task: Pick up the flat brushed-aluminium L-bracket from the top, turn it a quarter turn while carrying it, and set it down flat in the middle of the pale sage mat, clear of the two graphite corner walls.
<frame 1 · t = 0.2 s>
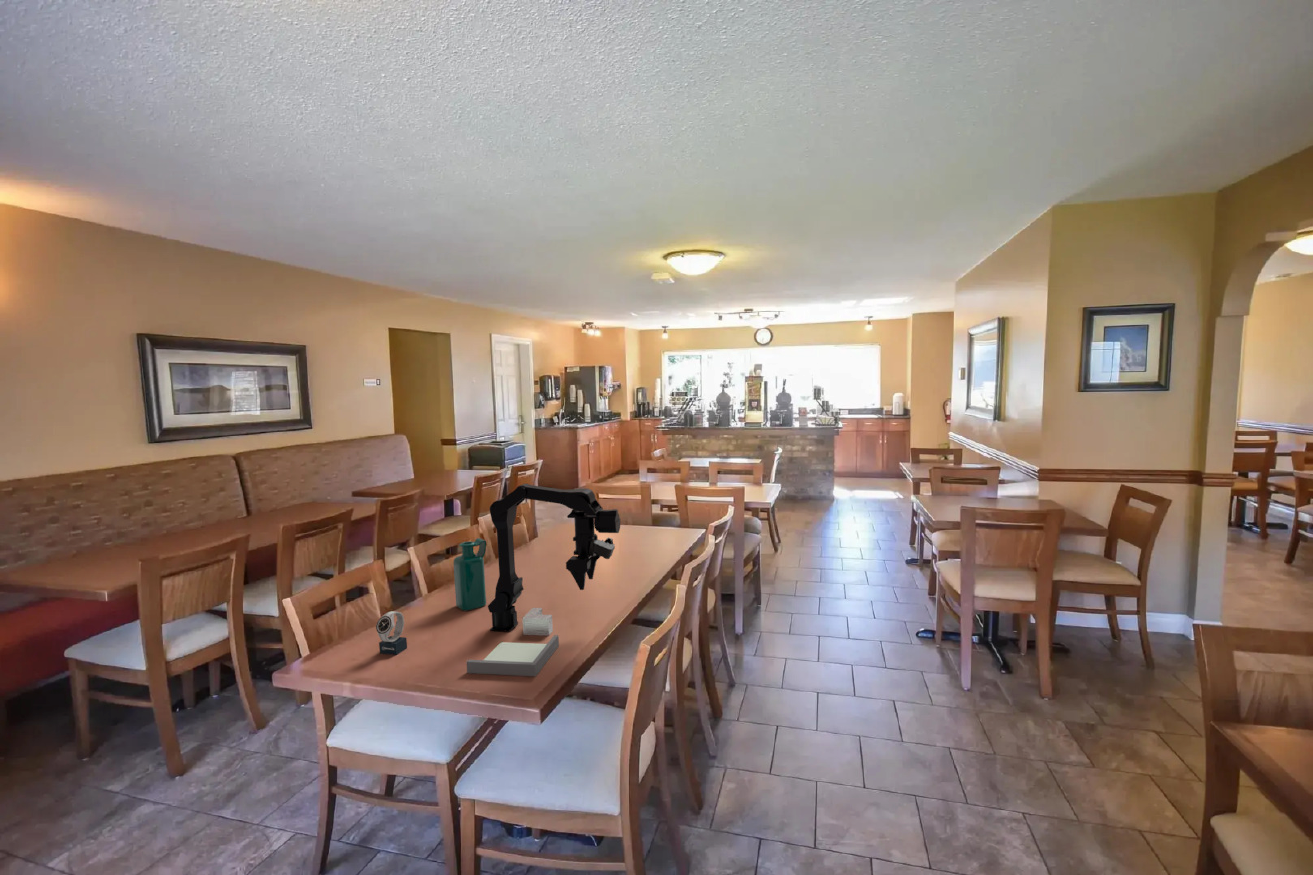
hand: (586, 584, 167), 14 cm above the table, tool pointing down, fingers open, 9 cm apart
watch: (393, 651, 159), on the table
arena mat: (516, 657, 152), on the table
bracket: (538, 632, 168), on the table
corner walls: (516, 657, 152), resting in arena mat
green bottle: (473, 605, 192), on the table
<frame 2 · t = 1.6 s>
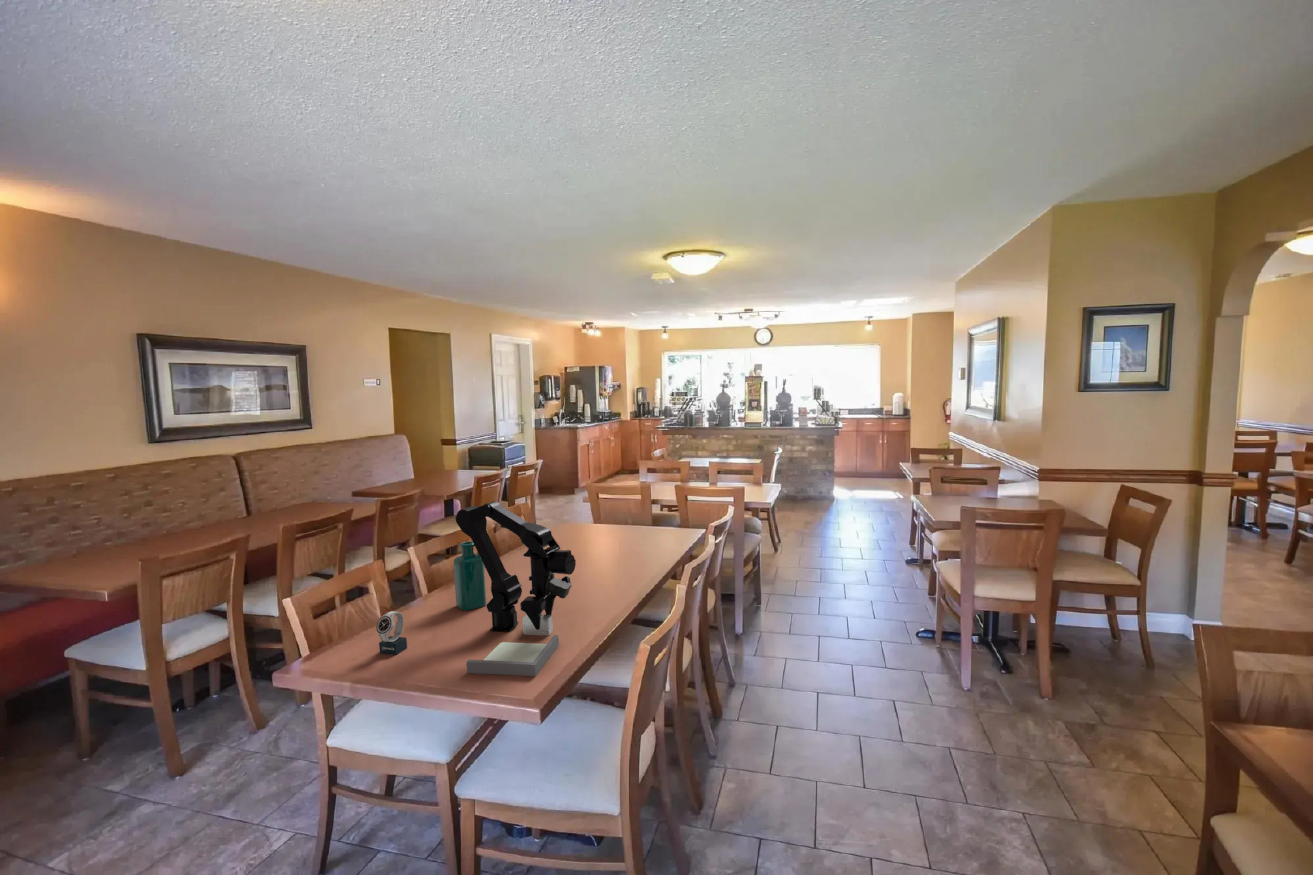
hand: (543, 622, 167), 3 cm above the table, tool pointing down, fingers open, 9 cm apart
nothing on the table moved.
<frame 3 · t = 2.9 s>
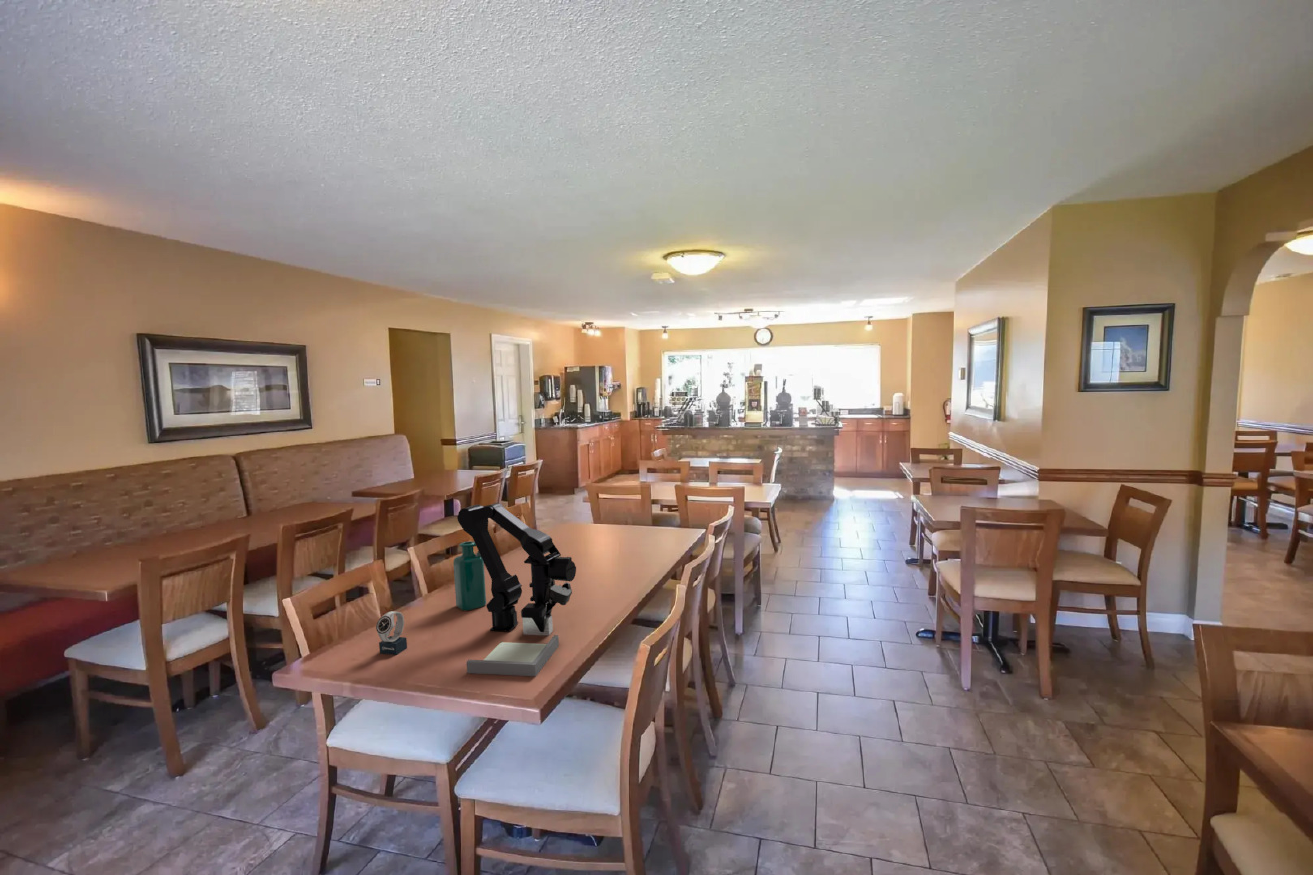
hand: (544, 629, 167), 1 cm above the table, tool pointing down, fingers closed on bracket, 3 cm apart
bracket: (538, 632, 168), on the table, touching gripper
everything else where it was.
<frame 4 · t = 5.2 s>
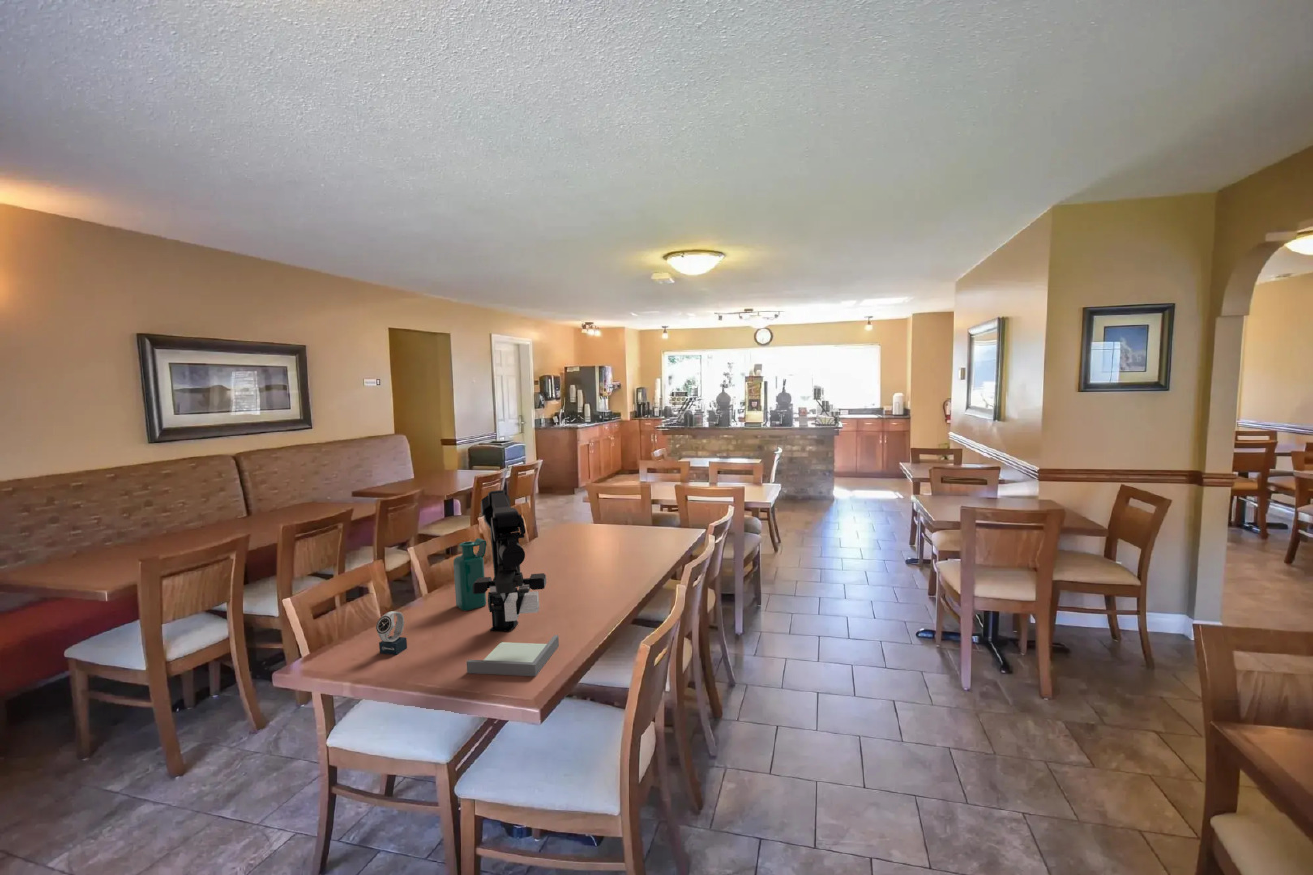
hand: (512, 614, 153), 11 cm above the table, tool pointing down, fingers closed on bracket, 3 cm apart
bracket: (513, 615, 155), point 10 cm above the table, touching gripper
everything else where it was.
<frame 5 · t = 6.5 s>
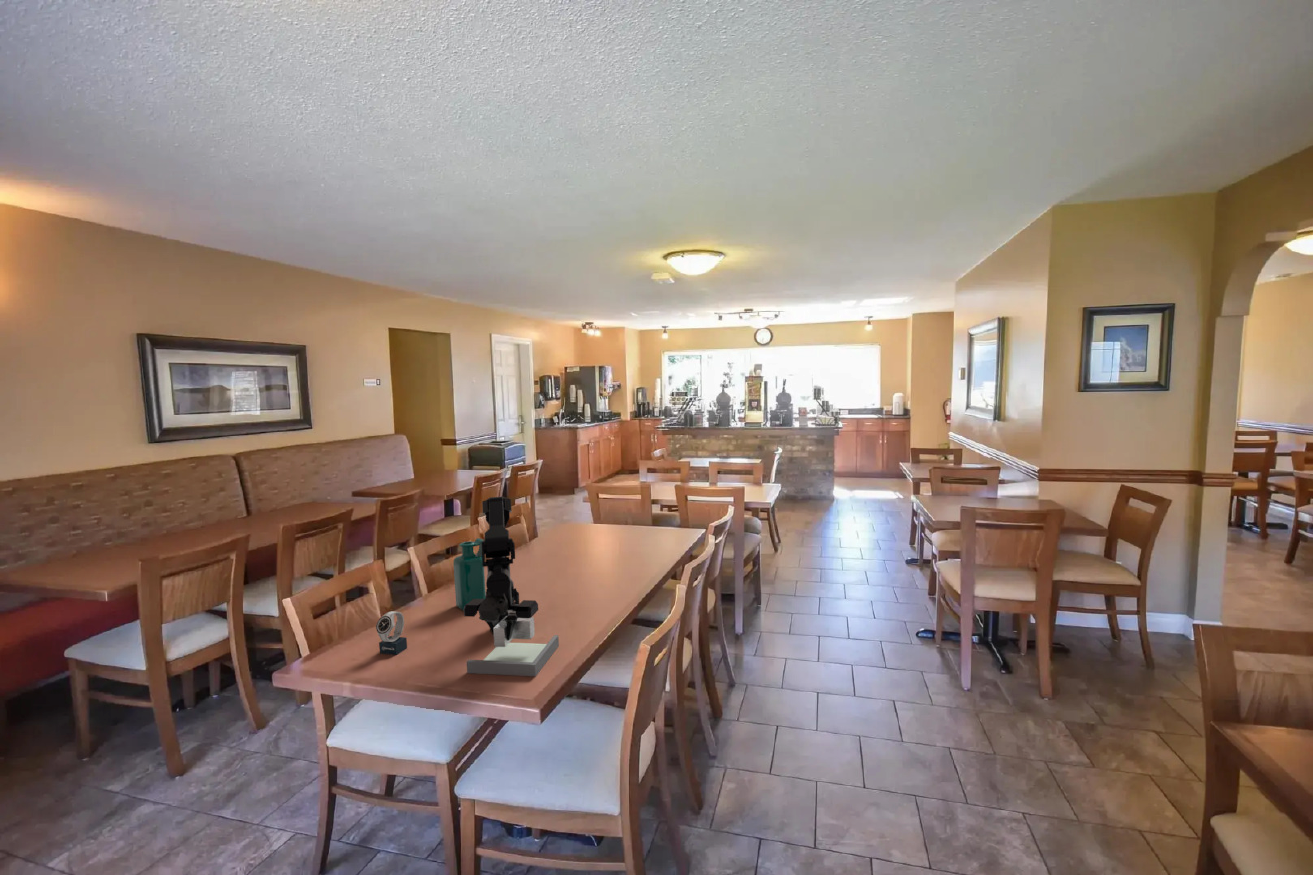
hand: (502, 639, 150), 6 cm above the table, tool pointing down, fingers closed on bracket, 3 cm apart
bracket: (506, 640, 152), point 5 cm above the table, touching gripper
everything else where it was.
when the fingers open (3 cm above the table, at t = 7.7 s): bracket drops 2 cm, resting on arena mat.
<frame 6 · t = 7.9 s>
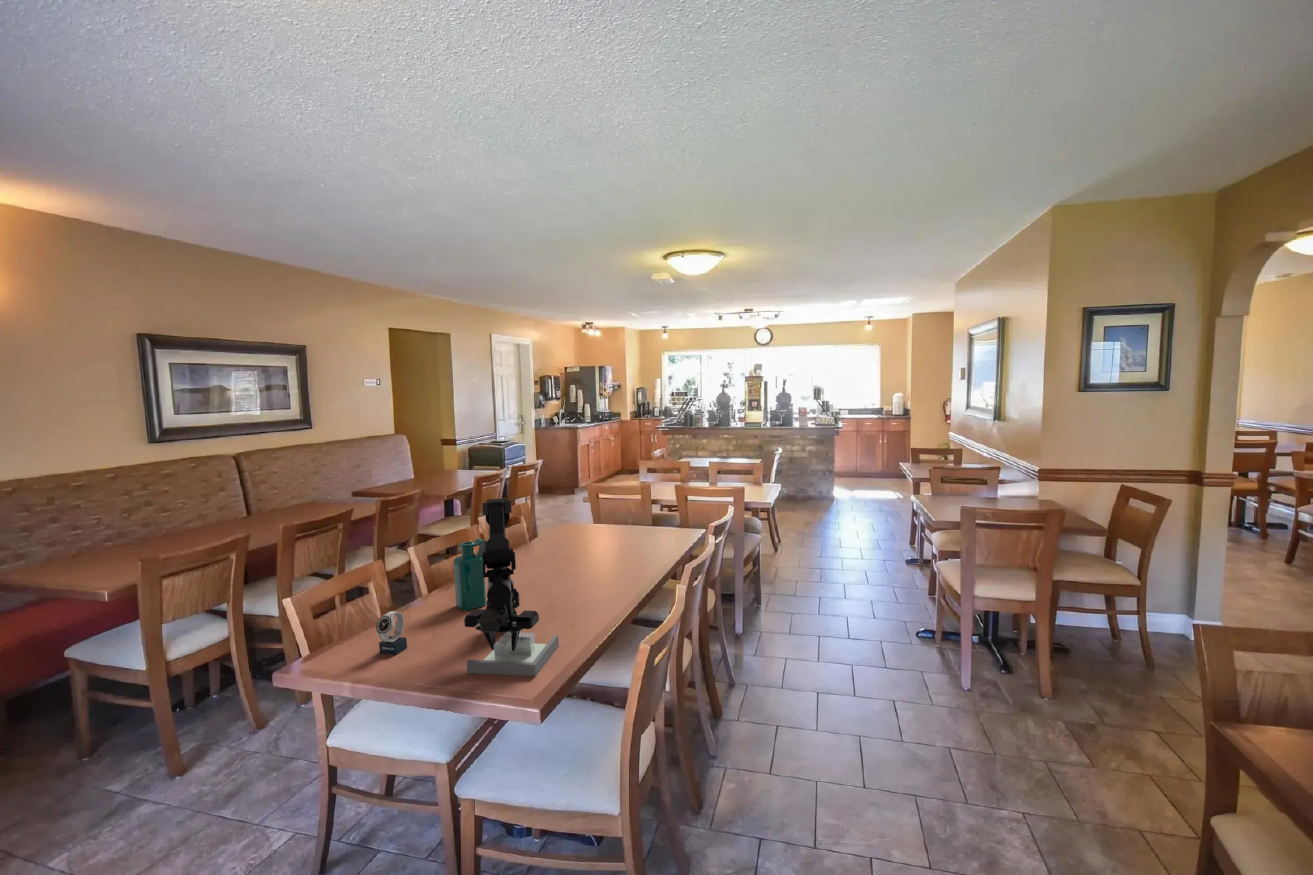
hand: (503, 649, 150), 3 cm above the table, tool pointing down, fingers open, 5 cm apart
bracket: (506, 656, 152), resting on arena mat
everything else where it was.
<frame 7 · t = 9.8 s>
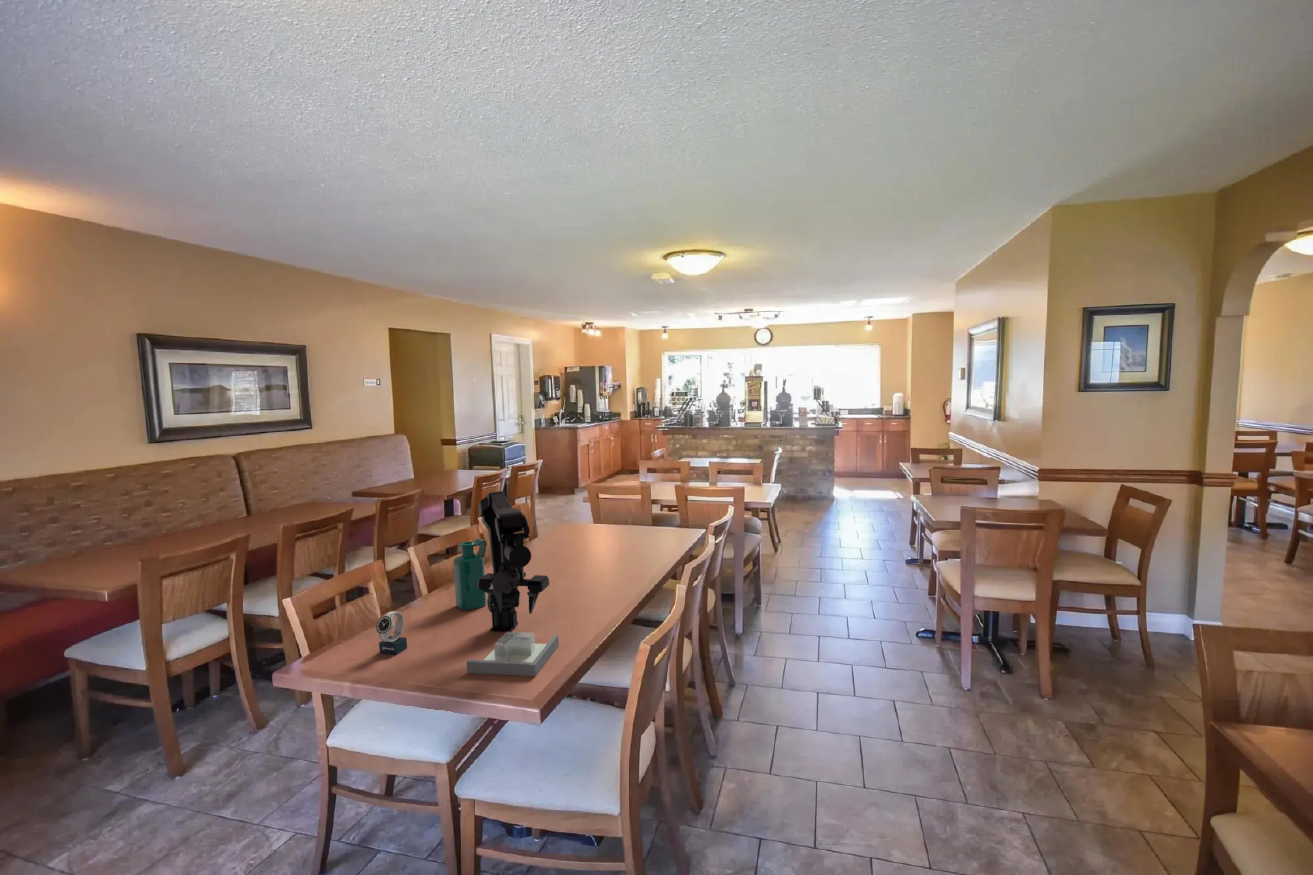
hand: (515, 612, 156), 11 cm above the table, tool pointing down, fingers open, 9 cm apart
nothing on the table moved.
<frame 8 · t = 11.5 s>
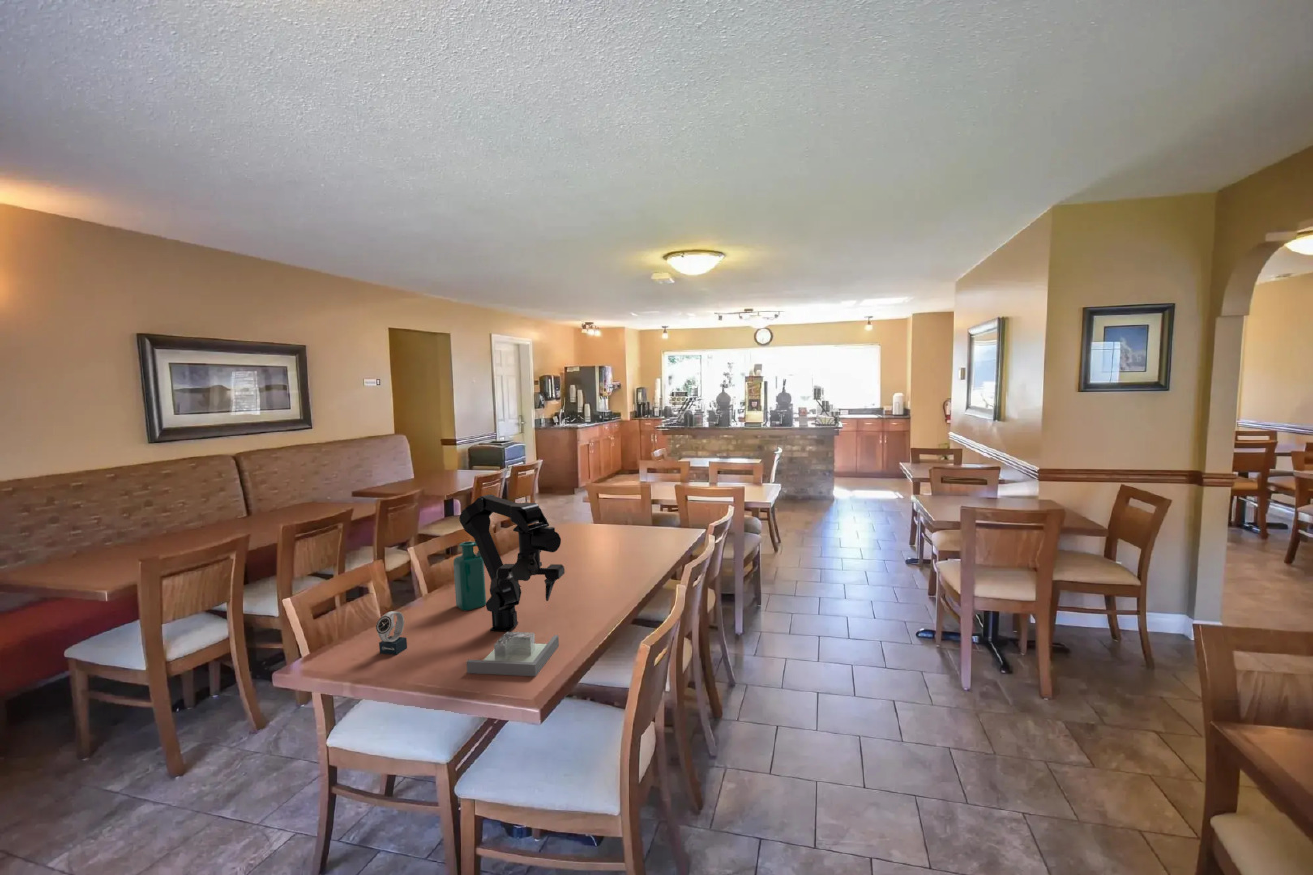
hand: (532, 600, 164), 11 cm above the table, tool pointing down, fingers open, 9 cm apart
nothing on the table moved.
at the end: bracket 0.1 cm from the target spot on the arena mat, point 0.4 cm above the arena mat's base; bracket tilted 0°; bracket touching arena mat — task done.
